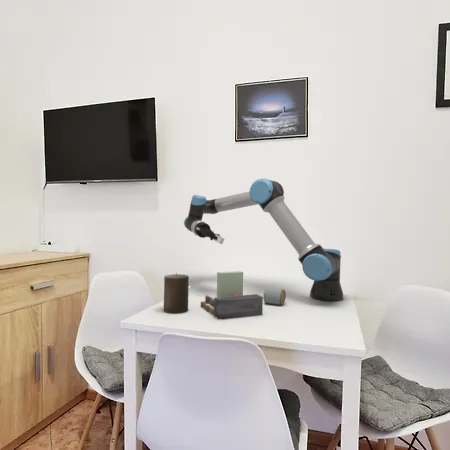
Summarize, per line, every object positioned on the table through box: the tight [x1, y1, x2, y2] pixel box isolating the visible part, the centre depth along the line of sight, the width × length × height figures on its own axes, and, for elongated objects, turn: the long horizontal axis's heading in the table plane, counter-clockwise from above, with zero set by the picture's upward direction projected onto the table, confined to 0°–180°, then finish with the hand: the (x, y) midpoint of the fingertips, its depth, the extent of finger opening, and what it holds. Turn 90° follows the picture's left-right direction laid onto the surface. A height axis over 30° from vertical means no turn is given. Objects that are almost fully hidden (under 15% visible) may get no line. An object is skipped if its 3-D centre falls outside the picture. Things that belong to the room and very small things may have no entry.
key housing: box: [200, 293, 264, 320], centre depth 144 cm, size 20×18×8 cm
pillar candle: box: [163, 272, 190, 314], centre depth 143 cm, size 10×10×15 cm
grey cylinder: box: [263, 285, 287, 306], centre depth 158 cm, size 11×8×8 cm
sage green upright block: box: [216, 270, 244, 297], centre depth 145 cm, size 3×10×13 cm, turn 114°
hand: (221, 241), depth 163 cm, fingers closed
